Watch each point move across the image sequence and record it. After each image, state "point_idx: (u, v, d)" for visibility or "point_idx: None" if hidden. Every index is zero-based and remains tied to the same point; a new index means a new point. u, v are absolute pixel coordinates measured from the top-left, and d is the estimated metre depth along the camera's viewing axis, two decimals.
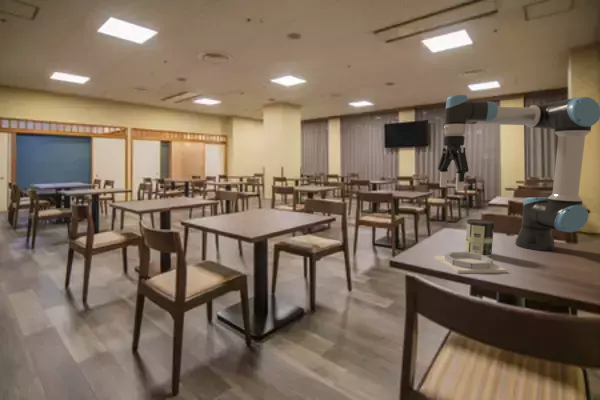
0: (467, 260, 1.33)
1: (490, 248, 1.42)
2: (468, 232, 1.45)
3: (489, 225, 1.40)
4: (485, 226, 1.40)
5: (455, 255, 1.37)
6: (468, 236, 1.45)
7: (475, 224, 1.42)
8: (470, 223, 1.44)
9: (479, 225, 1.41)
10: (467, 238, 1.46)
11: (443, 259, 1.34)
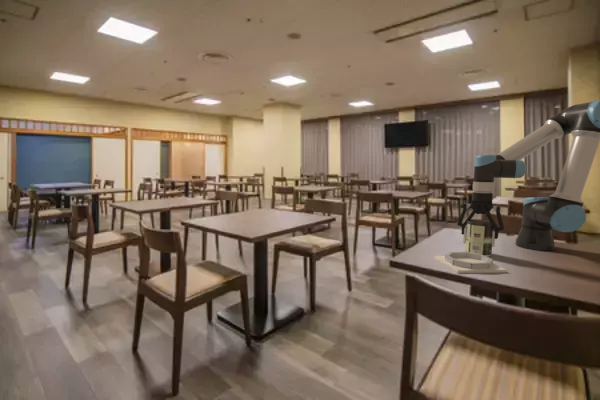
0: (467, 260, 1.33)
1: (490, 248, 1.42)
2: (468, 232, 1.45)
3: (489, 225, 1.40)
4: (485, 226, 1.40)
5: (455, 255, 1.37)
6: (468, 236, 1.45)
7: (475, 224, 1.42)
8: (470, 223, 1.44)
9: (479, 225, 1.41)
10: (467, 238, 1.46)
11: (443, 259, 1.34)
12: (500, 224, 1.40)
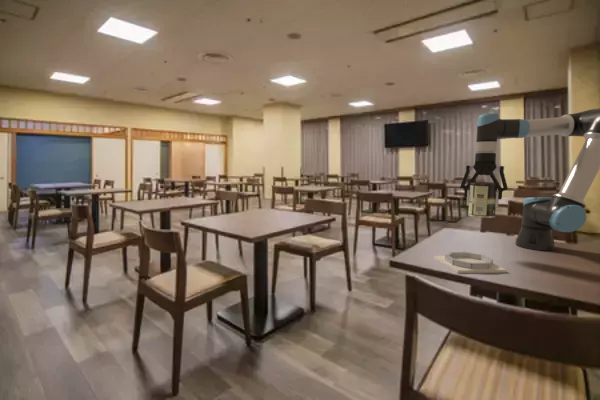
0: (467, 260, 1.33)
1: (494, 209, 1.40)
2: (471, 194, 1.43)
3: (492, 185, 1.38)
4: (488, 186, 1.38)
5: (455, 255, 1.37)
6: (471, 198, 1.43)
7: (478, 185, 1.40)
8: (473, 184, 1.42)
9: (482, 185, 1.39)
10: (470, 200, 1.44)
11: (443, 259, 1.34)
12: (504, 184, 1.38)
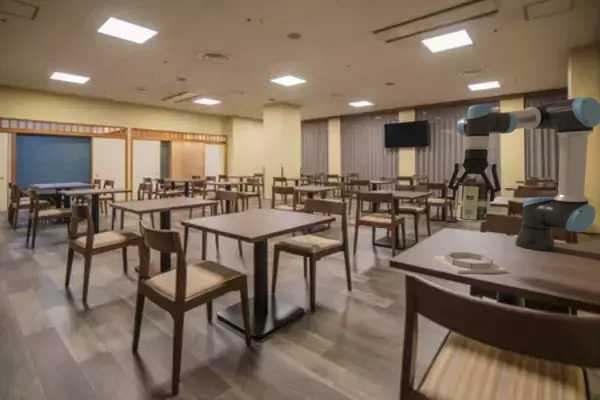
0: (467, 260, 1.33)
1: (485, 212, 1.24)
2: (460, 195, 1.27)
3: (483, 186, 1.22)
4: (479, 186, 1.22)
5: (455, 255, 1.37)
6: (460, 199, 1.27)
7: (468, 185, 1.24)
8: (462, 184, 1.26)
9: (472, 186, 1.23)
10: (459, 202, 1.28)
11: (443, 259, 1.34)
12: (496, 184, 1.22)
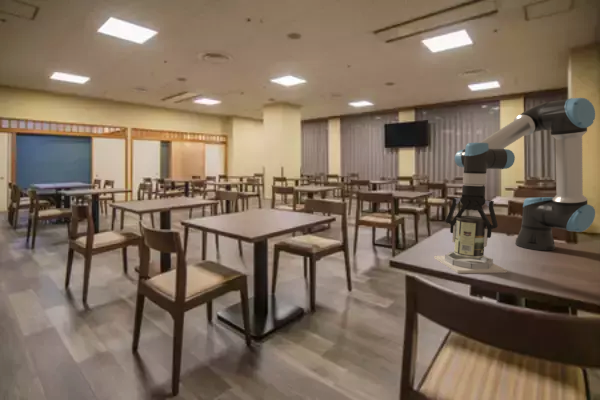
0: (467, 260, 1.33)
1: (482, 248, 1.26)
2: (457, 230, 1.29)
3: (480, 222, 1.24)
4: (476, 223, 1.24)
5: (455, 255, 1.37)
6: (457, 234, 1.29)
7: (465, 221, 1.25)
8: (459, 220, 1.27)
9: (469, 222, 1.24)
10: (456, 237, 1.30)
11: (443, 259, 1.34)
12: (493, 221, 1.23)
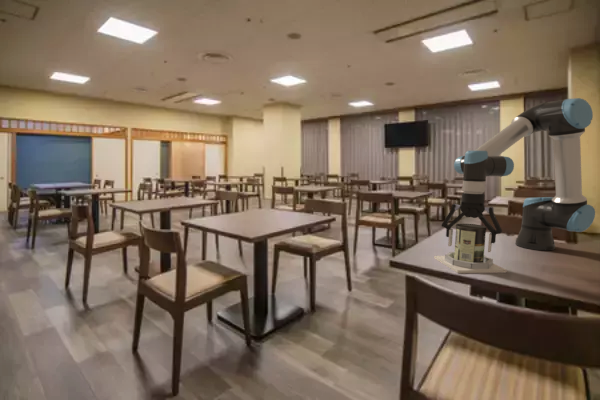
0: None
1: (482, 256, 1.26)
2: (457, 238, 1.29)
3: (480, 231, 1.24)
4: (476, 232, 1.24)
5: None
6: (457, 243, 1.29)
7: (465, 229, 1.26)
8: (459, 228, 1.28)
9: (469, 230, 1.25)
10: (456, 245, 1.30)
11: (443, 259, 1.34)
12: (496, 227, 1.23)
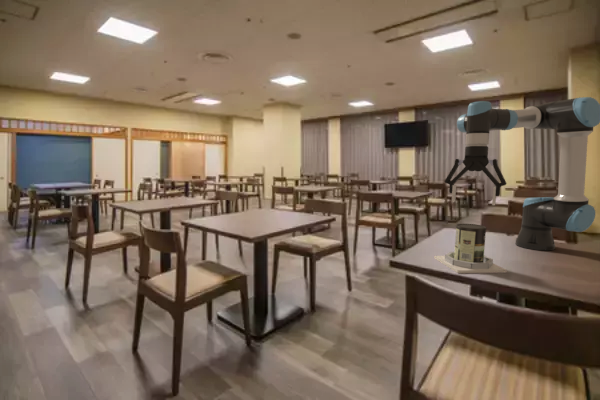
0: None
1: (482, 256, 1.26)
2: (457, 238, 1.29)
3: (480, 231, 1.24)
4: (476, 232, 1.24)
5: None
6: (457, 243, 1.29)
7: (465, 229, 1.26)
8: (459, 228, 1.28)
9: (469, 230, 1.25)
10: (456, 245, 1.30)
11: (443, 259, 1.34)
12: (501, 179, 1.21)
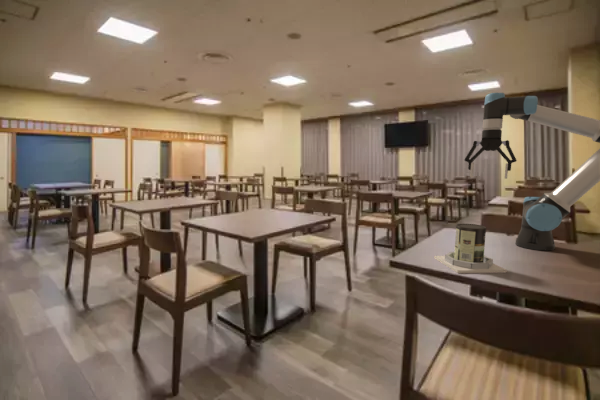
0: None
1: (482, 256, 1.26)
2: (457, 238, 1.29)
3: (480, 231, 1.24)
4: (476, 232, 1.24)
5: None
6: (457, 243, 1.29)
7: (465, 229, 1.26)
8: (459, 228, 1.28)
9: (469, 230, 1.25)
10: (456, 245, 1.30)
11: (443, 259, 1.34)
12: (512, 156, 1.47)
